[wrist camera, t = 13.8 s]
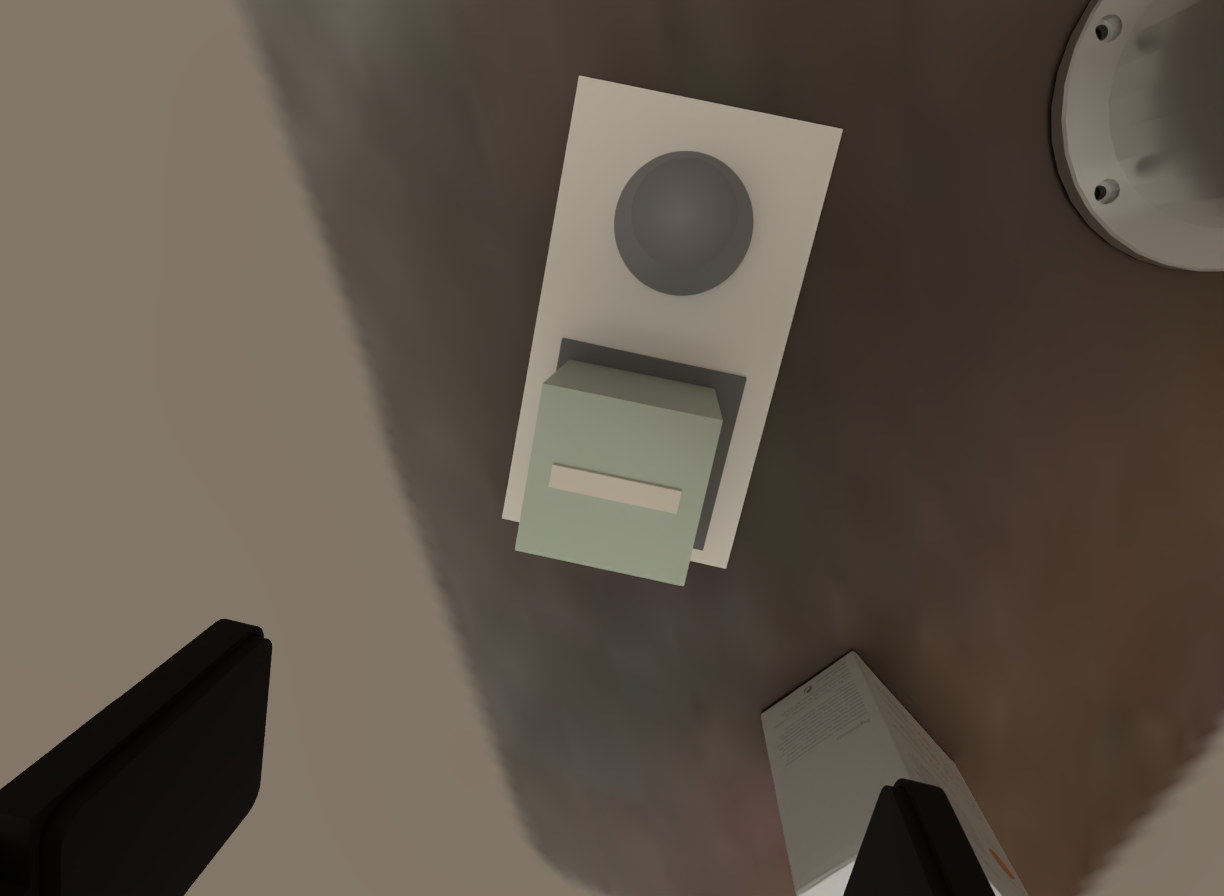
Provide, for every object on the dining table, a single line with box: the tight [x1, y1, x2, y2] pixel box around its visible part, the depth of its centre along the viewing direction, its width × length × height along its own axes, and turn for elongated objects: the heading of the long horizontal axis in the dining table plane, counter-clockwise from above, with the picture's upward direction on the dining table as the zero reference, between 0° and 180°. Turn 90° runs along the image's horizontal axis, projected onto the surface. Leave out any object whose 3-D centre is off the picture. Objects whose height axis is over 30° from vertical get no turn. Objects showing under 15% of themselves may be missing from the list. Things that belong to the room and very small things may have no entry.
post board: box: [502, 76, 843, 569], centre depth 27 cm, size 18×10×10 cm, turn 168°
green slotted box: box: [515, 359, 723, 586], centre depth 28 cm, size 6×6×6 cm
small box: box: [761, 651, 1028, 896], centre depth 30 cm, size 8×6×10 cm
